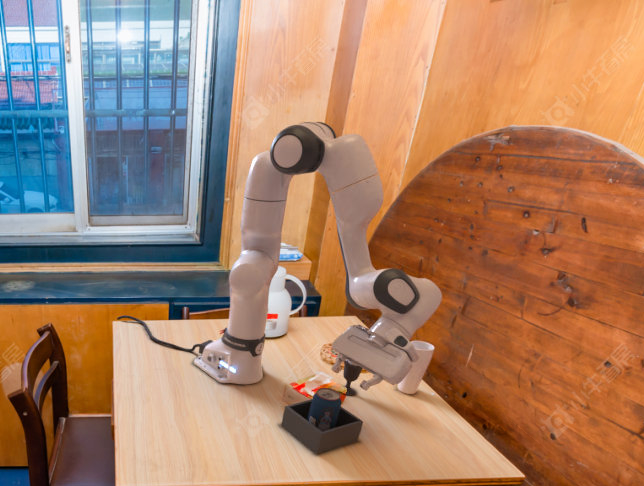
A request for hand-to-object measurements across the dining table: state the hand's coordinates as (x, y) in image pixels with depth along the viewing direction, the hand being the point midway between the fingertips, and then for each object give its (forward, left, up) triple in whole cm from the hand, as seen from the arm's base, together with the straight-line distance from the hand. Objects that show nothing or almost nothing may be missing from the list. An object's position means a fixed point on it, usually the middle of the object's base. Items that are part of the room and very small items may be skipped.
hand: (347, 379), depth 128 cm
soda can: (-1, -5, -15) cm, 16 cm away
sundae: (-8, +21, -15) cm, 27 cm away
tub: (-1, -5, -15) cm, 16 cm away
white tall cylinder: (+3, +36, -15) cm, 39 cm away
